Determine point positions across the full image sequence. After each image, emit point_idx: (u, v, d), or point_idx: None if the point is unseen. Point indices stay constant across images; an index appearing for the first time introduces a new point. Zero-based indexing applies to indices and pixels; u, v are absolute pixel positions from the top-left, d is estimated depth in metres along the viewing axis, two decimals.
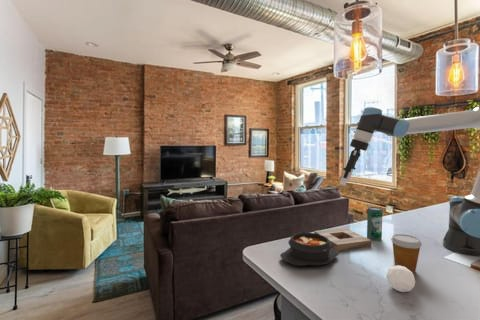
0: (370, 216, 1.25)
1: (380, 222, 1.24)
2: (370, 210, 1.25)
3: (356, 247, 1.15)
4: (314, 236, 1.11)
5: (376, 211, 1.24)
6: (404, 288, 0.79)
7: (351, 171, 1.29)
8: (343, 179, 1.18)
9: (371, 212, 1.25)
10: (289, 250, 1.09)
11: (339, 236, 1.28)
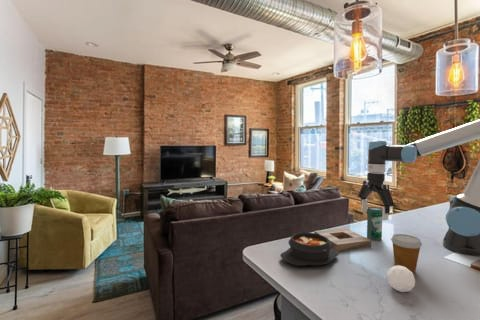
0: (370, 216, 1.25)
1: (380, 222, 1.24)
2: (370, 210, 1.25)
3: (356, 247, 1.15)
4: (314, 236, 1.11)
5: (376, 211, 1.24)
6: (404, 288, 0.79)
7: (366, 201, 1.33)
8: (385, 215, 1.20)
9: (371, 212, 1.25)
10: (289, 250, 1.09)
11: (339, 236, 1.28)
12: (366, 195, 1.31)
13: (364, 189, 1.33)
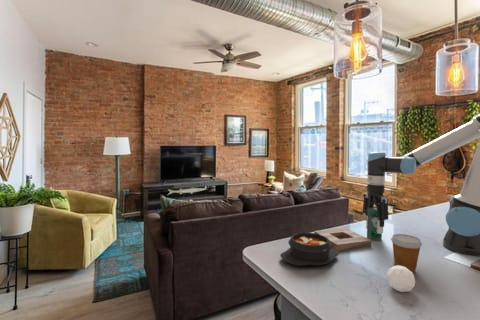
0: (370, 216, 1.25)
1: None
2: (370, 210, 1.25)
3: (356, 247, 1.15)
4: (314, 236, 1.11)
5: (376, 211, 1.24)
6: (404, 288, 0.79)
7: None
8: (380, 228, 1.23)
9: (371, 212, 1.25)
10: (289, 250, 1.09)
11: (339, 236, 1.28)
12: None
13: (366, 203, 1.31)
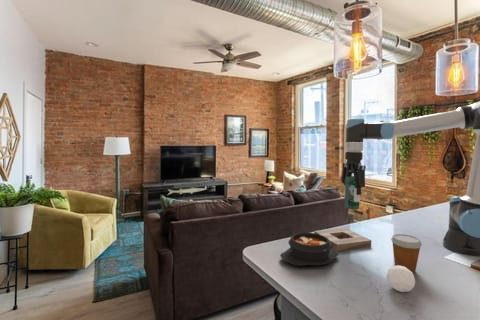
0: (347, 184, 1.22)
1: None
2: (347, 178, 1.22)
3: (356, 247, 1.15)
4: (314, 236, 1.11)
5: (353, 179, 1.20)
6: (404, 288, 0.79)
7: None
8: (357, 196, 1.20)
9: (348, 180, 1.22)
10: (289, 250, 1.09)
11: (339, 236, 1.28)
12: None
13: (345, 172, 1.28)
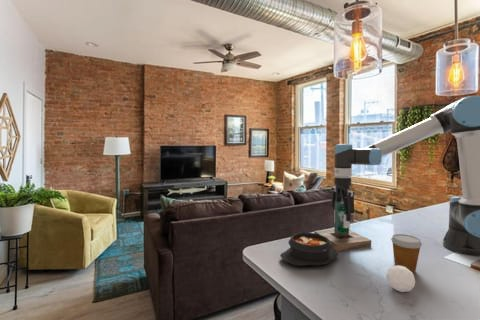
0: (337, 210, 1.21)
1: None
2: (337, 204, 1.21)
3: (356, 247, 1.15)
4: (314, 236, 1.11)
5: (342, 205, 1.19)
6: (404, 288, 0.79)
7: None
8: (346, 222, 1.19)
9: (338, 206, 1.21)
10: (289, 250, 1.09)
11: (339, 236, 1.28)
12: None
13: (335, 197, 1.27)
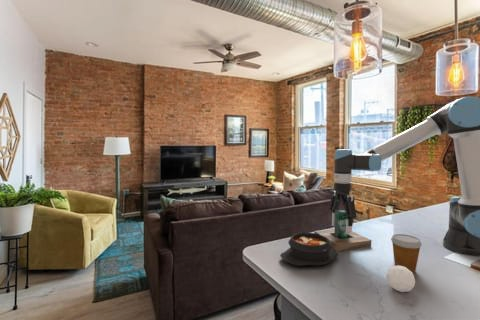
0: (337, 218, 1.22)
1: None
2: (337, 212, 1.21)
3: (356, 247, 1.15)
4: (314, 236, 1.11)
5: (342, 213, 1.20)
6: (404, 288, 0.79)
7: None
8: (348, 227, 1.18)
9: (338, 215, 1.21)
10: (289, 250, 1.09)
11: None
12: (336, 207, 1.27)
13: (333, 201, 1.28)
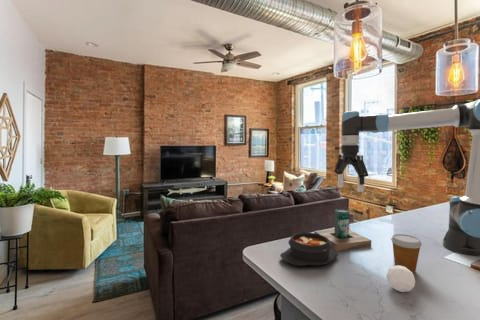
0: (337, 218, 1.22)
1: (347, 225, 1.20)
2: (337, 212, 1.21)
3: (356, 247, 1.15)
4: (314, 236, 1.11)
5: (342, 213, 1.20)
6: (404, 288, 0.79)
7: (342, 176, 1.30)
8: (360, 186, 1.17)
9: (338, 215, 1.21)
10: (289, 250, 1.09)
11: None
12: (342, 169, 1.29)
13: (340, 163, 1.30)
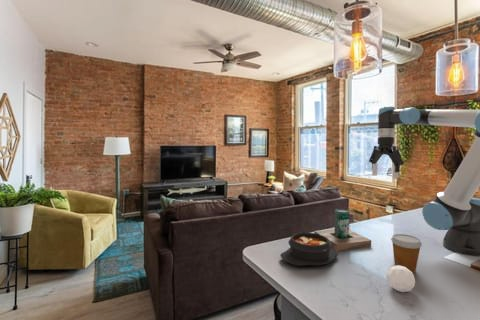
0: (337, 218, 1.22)
1: (347, 225, 1.20)
2: (337, 212, 1.21)
3: (356, 247, 1.15)
4: (314, 236, 1.11)
5: (342, 213, 1.20)
6: (404, 288, 0.79)
7: (376, 165, 1.44)
8: (395, 173, 1.31)
9: (338, 215, 1.21)
10: (289, 250, 1.09)
11: None
12: (377, 159, 1.43)
13: (375, 154, 1.44)
